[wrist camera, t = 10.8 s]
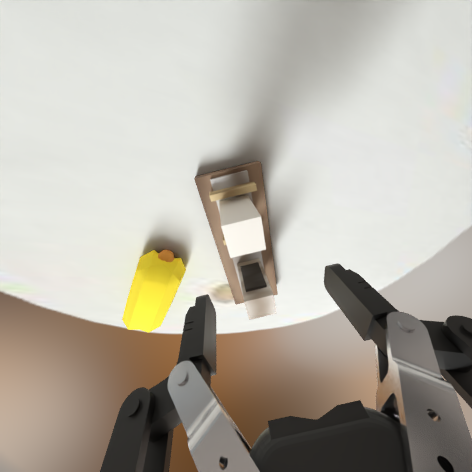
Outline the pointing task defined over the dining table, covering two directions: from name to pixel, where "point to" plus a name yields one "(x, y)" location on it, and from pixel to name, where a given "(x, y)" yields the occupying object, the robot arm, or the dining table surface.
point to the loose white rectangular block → (241, 226)
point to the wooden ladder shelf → (237, 268)
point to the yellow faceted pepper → (153, 290)
